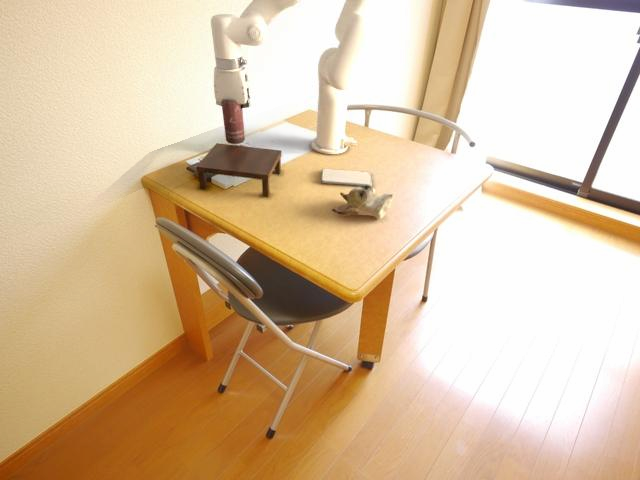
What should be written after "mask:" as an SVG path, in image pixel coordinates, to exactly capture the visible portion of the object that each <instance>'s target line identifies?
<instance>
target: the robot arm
mask: <svg viewBox="0 0 640 480" xmlns="http://www.w3.org/2000/svg"><path fill="white" fill-rule="evenodd" d="M301 1H302V0H252V1H251V2H250V3H249V4H248V5H247V7H246V8H245V9H244V10H243V12H242V13H241V14H240V16H239V17H237V16H235V15H234V14H229V13H219V14H215V15H212V16H211V18H210V29H211V37H212V43H213V52H214V61H215V67H214V69H213V89H214V90H213V93H214V99H215V104H216V105H217V106H220V107H222V103H221V102H222V100H223V99H224V100H229V101H232V100H235V101H236V102H237V103H238V104H241V106H240V108H241V109H242V110H243V109H247V108H250V107H251V105H252V104H251V101H250V100H251V87H250V82H249V77H248V72H247V69H246V67H245V66H247V65H248V60H247V59H244V58H243V55H242V47H241V45H244V46H251V47H258V46H261V45H263V44H264V43H265V42H266V41H267V39H268V35H269V30H268V26H269V25H270V24H271V22H272V21H273V20H274V19H275V18H276V17H277V16H279V14H281V13H282V12H283V11H285V10H286V9H288V8H290V7H293V6H295V5H297V4H298V3H300V2H301ZM377 3H378V0H345V2H344V4H343V6H342V9H341V12H340V14H339V16H338V19H337V21H336V23H335V27H334V34H335V38H336V40H337V41H338V42H339V43H338V45H337V47H329V48H327V49H326V50H324V51H323V52H322V53H321V55H320V57H319V60H318V65H317V67H318V68H317V74H318V75H317V76H318V77H317V78H318V98H317V99H318V100H317V116H316V117H317V118H316V138H314V139H313V140H311V148H312V149H313V150H314V151H315V152H318V153H321V154H325V155H338V154H342V153H344V152H347V150H348V149H349V148H348V147H349V146H350V147H357V144H358V143H357V142H358V140H355V138H354V137H348V136H347V134H346V132H345V130H346V123H347V122H346V120H347V112H348V111H347V110H348V102H349V90H350V89H351V88H353V87H354V86H355V84H356V83H357V82H358V81H359V79H360V77H361V74H362V72H363V70H364V68H365V65H366V63H367V61H368V60H369V57H370V54H371V52H372V50H373V48H374V46H375V42H376V36H377V35H376V27H375V24H374V22H372V20H371V19H372V16H373V14H374V11H375V8H376V6H377Z"/></svg>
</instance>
